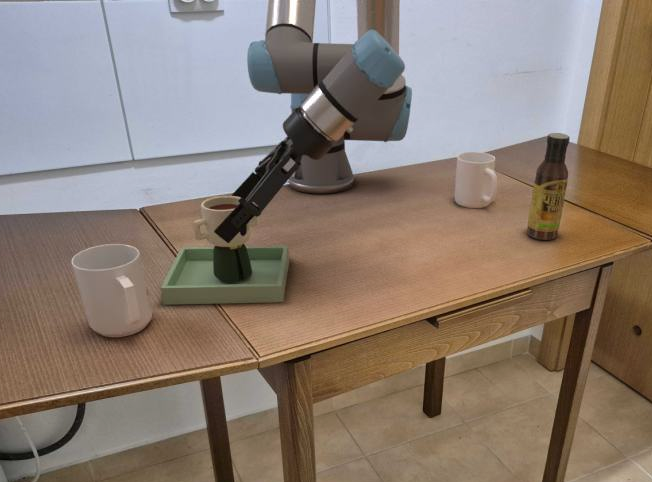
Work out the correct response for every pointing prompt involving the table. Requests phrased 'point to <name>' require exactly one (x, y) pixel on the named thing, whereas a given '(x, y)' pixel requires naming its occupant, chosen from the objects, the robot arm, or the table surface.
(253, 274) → the tray
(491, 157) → the cup
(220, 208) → the character mug
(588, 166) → the table surface
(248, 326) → the table surface
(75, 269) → the mug
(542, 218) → the sauce bottle
